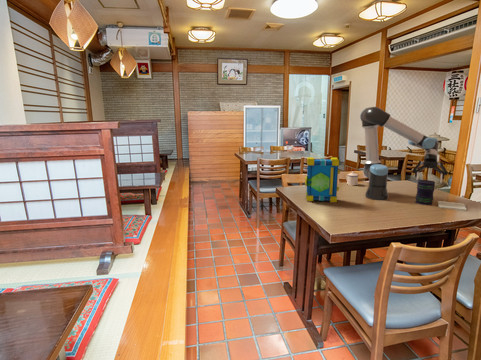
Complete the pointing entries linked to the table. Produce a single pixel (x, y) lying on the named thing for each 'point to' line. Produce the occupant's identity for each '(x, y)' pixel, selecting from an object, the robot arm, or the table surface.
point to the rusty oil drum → (425, 192)
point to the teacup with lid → (352, 179)
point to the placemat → (452, 205)
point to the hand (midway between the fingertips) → (428, 181)
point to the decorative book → (322, 179)
